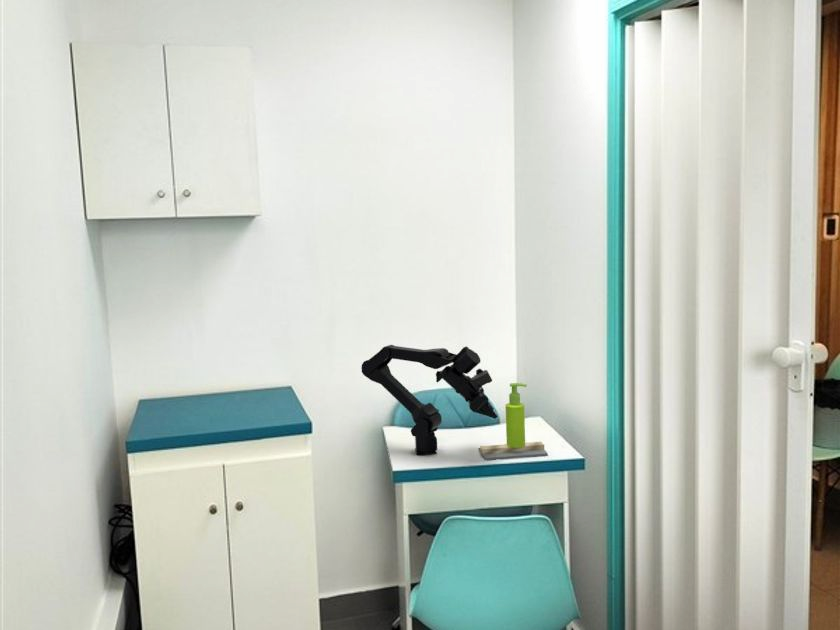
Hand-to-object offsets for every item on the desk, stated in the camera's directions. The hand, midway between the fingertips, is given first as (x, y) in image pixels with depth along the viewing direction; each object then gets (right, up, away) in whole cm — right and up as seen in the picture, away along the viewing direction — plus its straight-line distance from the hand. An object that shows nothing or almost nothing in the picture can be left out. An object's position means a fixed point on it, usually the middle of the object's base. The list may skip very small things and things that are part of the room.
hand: (494, 413), depth 240 cm
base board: (+6, -13, +1) cm, 14 cm away
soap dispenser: (+7, -10, +1) cm, 13 cm away
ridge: (+6, -13, +1) cm, 14 cm away
